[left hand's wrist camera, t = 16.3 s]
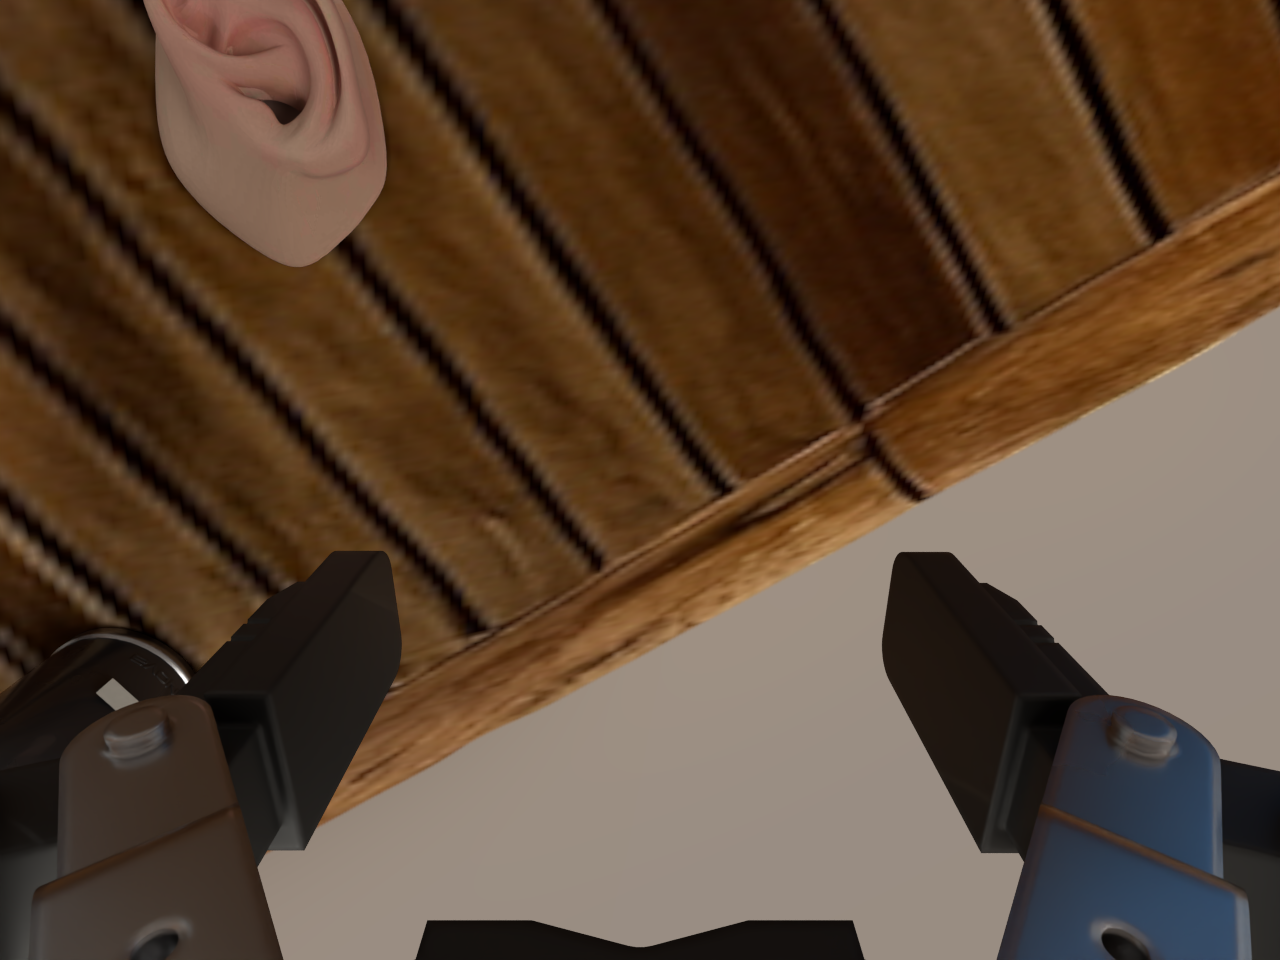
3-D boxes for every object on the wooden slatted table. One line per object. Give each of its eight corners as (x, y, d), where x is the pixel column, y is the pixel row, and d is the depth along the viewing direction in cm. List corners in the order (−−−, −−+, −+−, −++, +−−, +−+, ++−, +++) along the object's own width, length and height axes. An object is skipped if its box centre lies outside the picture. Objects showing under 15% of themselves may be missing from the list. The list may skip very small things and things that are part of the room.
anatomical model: (317, 303, 32) (61, 189, 30) (350, 294, 36) (123, 191, 34) (408, -5, 28) (115, -158, 26) (435, 21, 32) (180, -112, 30)
